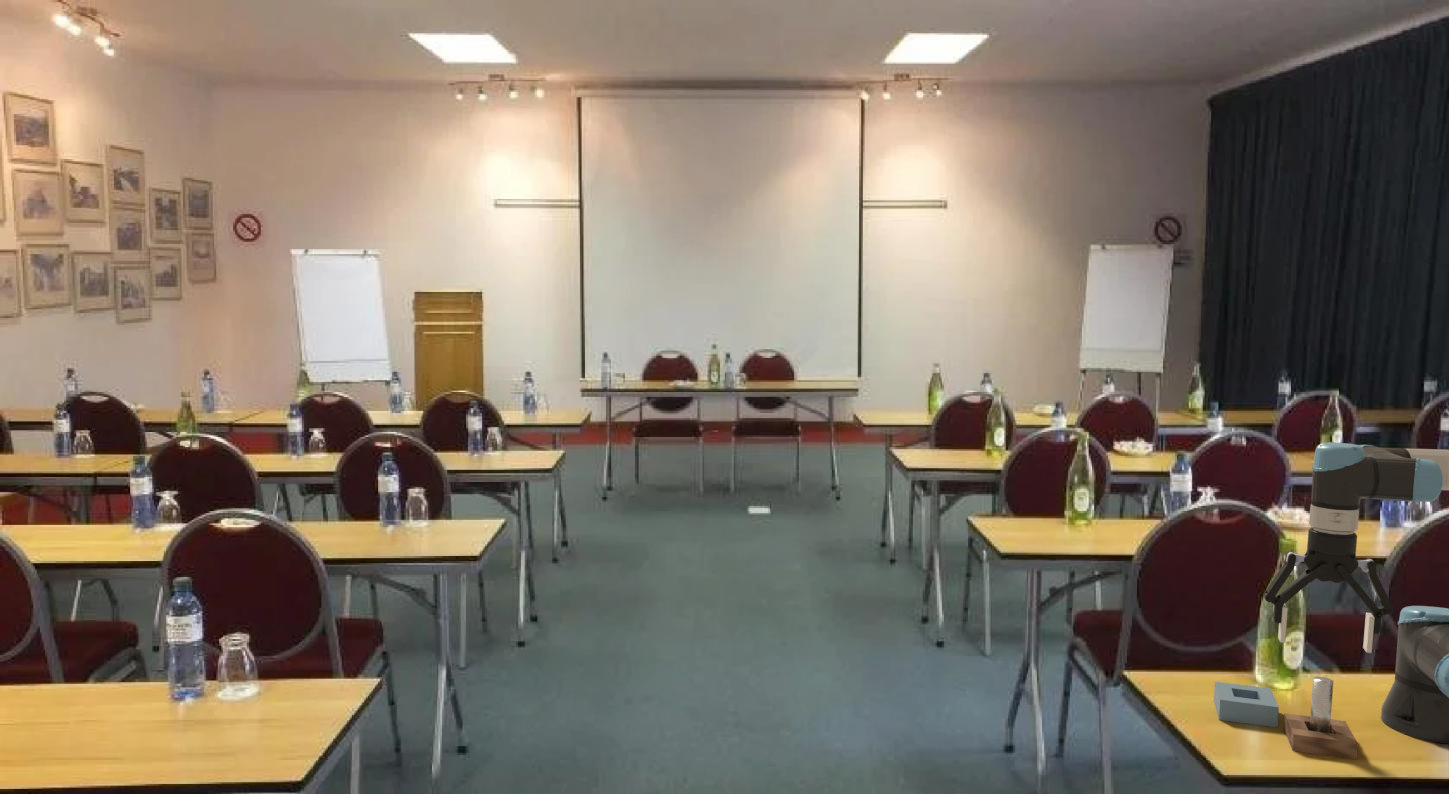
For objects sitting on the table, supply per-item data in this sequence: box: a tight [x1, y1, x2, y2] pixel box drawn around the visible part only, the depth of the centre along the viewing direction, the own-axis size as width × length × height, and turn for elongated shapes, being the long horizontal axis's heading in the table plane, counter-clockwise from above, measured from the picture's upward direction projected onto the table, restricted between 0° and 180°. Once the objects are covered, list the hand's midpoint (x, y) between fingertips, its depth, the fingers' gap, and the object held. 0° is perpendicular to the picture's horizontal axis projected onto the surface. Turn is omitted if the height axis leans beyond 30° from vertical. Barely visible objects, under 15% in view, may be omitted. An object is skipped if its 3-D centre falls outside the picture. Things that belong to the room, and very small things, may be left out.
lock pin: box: [1309, 675, 1334, 733], centre depth 187 cm, size 3×3×12 cm
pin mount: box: [1283, 712, 1359, 760], centre depth 188 cm, size 10×10×3 cm
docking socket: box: [1213, 681, 1280, 728], centre depth 201 cm, size 10×10×4 cm
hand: (1323, 645), depth 186 cm, fingers open, 13 cm apart
